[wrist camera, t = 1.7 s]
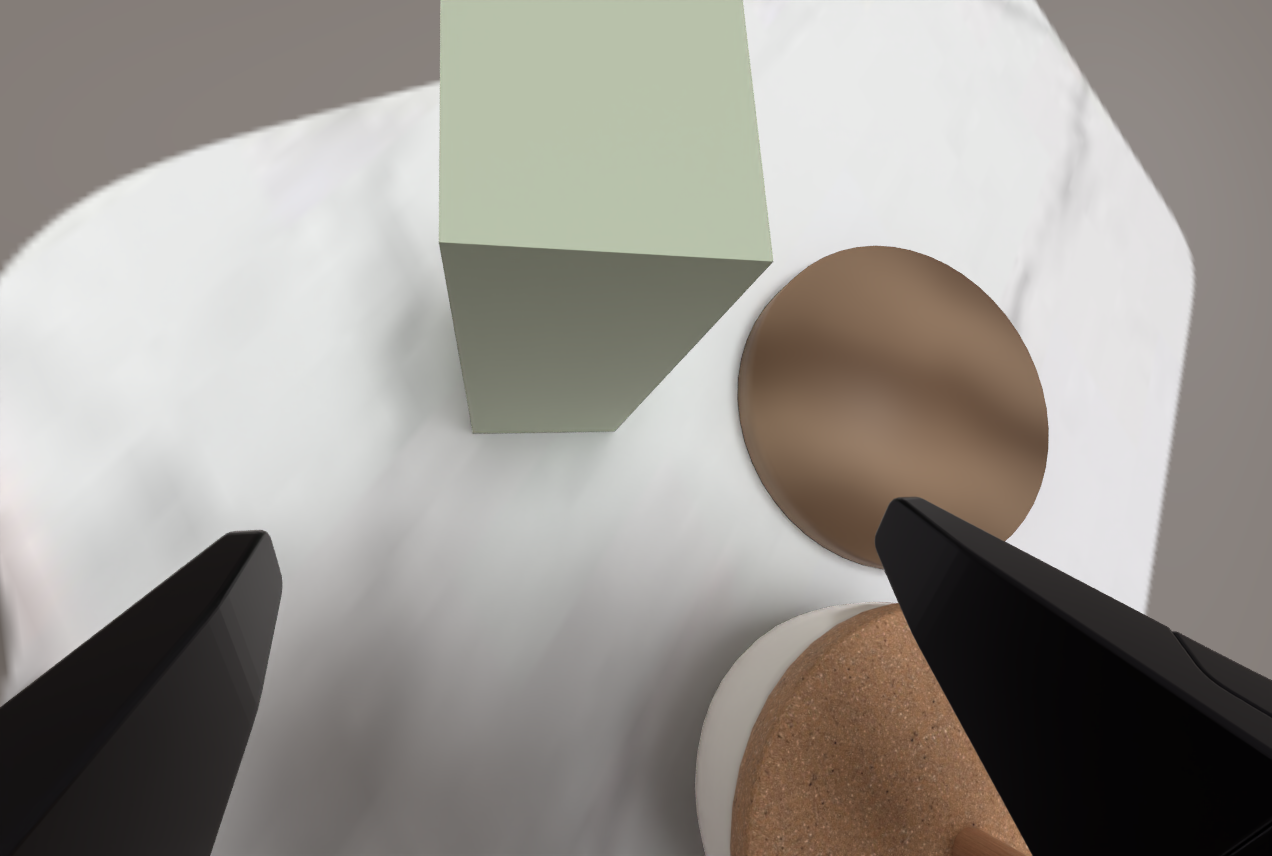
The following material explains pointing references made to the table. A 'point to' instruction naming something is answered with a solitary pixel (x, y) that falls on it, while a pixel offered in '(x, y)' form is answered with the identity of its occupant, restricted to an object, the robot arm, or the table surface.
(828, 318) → the disc
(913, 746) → the lidded jar
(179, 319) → the table surface
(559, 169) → the post
